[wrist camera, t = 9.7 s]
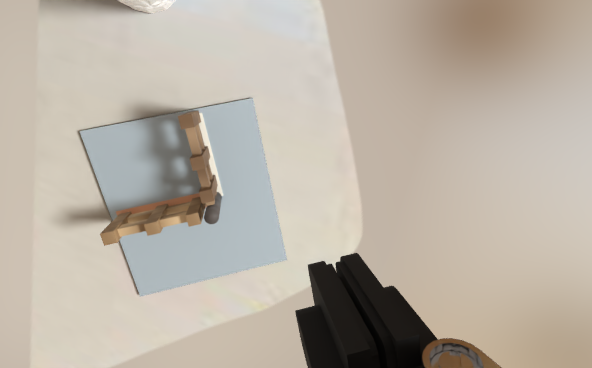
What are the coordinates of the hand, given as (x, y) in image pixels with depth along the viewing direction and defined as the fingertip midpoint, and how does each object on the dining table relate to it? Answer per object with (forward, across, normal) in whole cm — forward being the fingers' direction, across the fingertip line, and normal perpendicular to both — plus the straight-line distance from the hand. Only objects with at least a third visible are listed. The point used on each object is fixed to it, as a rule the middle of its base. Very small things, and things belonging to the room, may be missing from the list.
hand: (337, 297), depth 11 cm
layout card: (+29, +9, +4) cm, 31 cm away
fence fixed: (+29, +7, 0) cm, 30 cm away
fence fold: (+28, +12, +4) cm, 31 cm away
